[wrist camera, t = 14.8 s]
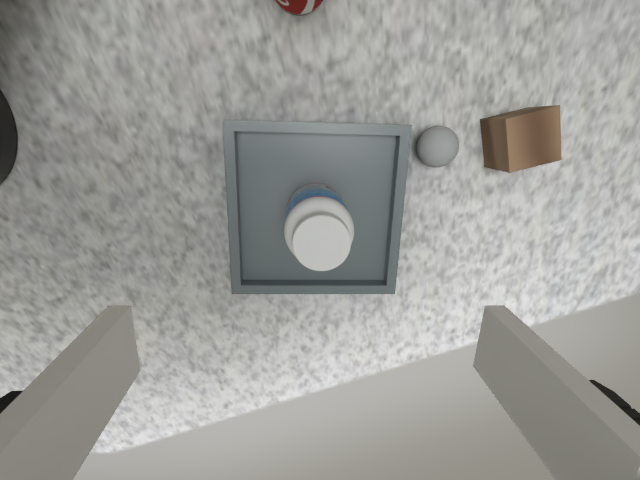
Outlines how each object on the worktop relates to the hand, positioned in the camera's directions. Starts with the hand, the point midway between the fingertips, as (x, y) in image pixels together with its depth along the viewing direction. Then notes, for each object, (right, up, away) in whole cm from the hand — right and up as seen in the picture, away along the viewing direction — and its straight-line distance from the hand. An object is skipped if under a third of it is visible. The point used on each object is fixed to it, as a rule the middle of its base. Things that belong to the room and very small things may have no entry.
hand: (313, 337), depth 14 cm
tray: (0, +7, +26) cm, 27 cm away
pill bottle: (0, +7, +25) cm, 26 cm away
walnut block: (+20, +14, +25) cm, 35 cm away
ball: (+12, +14, +25) cm, 31 cm away
